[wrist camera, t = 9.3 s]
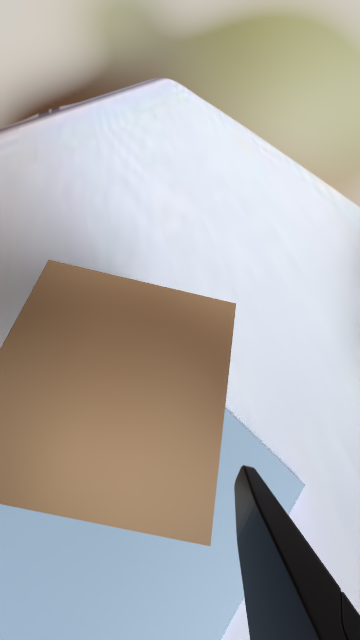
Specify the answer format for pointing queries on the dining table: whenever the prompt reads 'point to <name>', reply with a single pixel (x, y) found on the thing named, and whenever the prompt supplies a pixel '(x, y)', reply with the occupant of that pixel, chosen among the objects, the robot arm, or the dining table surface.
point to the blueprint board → (131, 566)
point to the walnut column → (115, 403)
